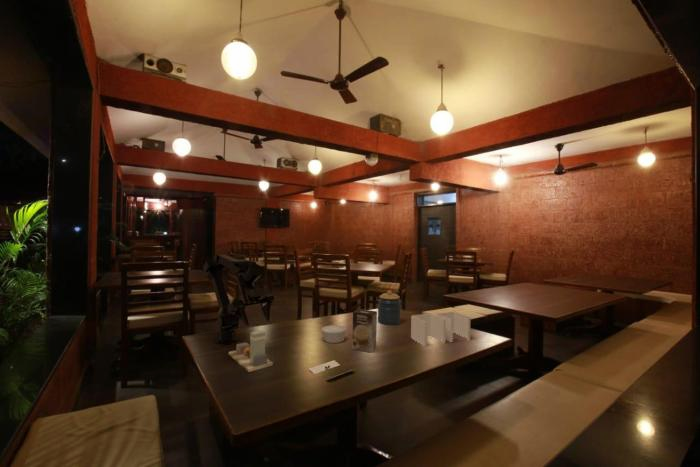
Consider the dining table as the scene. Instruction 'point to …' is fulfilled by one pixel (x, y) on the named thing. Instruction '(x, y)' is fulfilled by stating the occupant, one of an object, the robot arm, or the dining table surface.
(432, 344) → the dining table surface
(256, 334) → the marker sleeve
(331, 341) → the ramekin
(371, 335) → the coffee box
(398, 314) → the canister
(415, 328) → the white folding screen
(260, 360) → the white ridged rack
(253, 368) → the cable comb board
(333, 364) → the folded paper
